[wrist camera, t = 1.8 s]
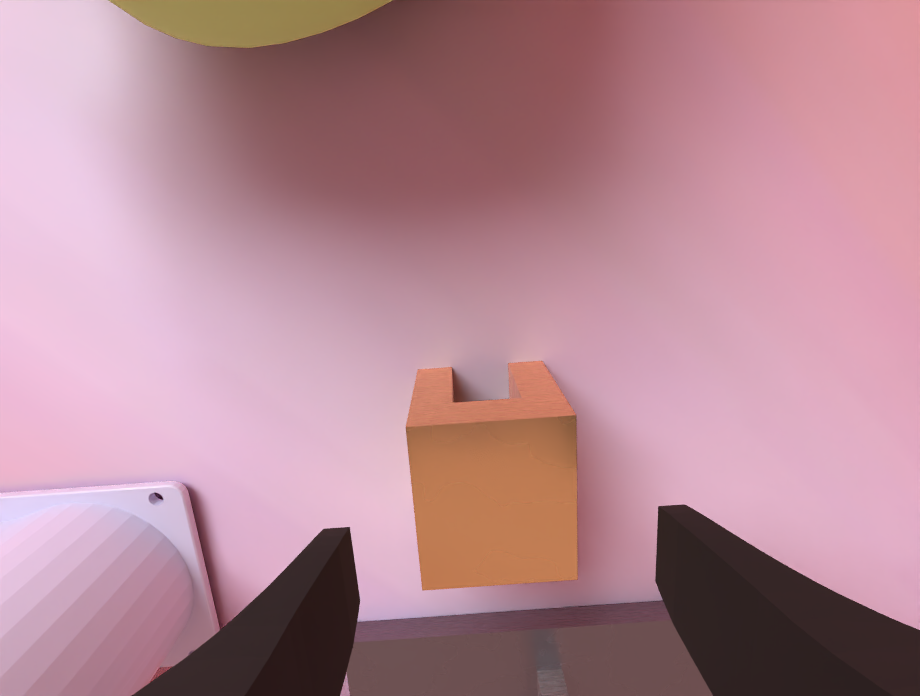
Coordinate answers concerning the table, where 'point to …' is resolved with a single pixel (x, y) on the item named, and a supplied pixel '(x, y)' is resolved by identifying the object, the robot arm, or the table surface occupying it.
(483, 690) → the plate
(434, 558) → the brass clip
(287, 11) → the teapot
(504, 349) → the table surface
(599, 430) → the table surface
